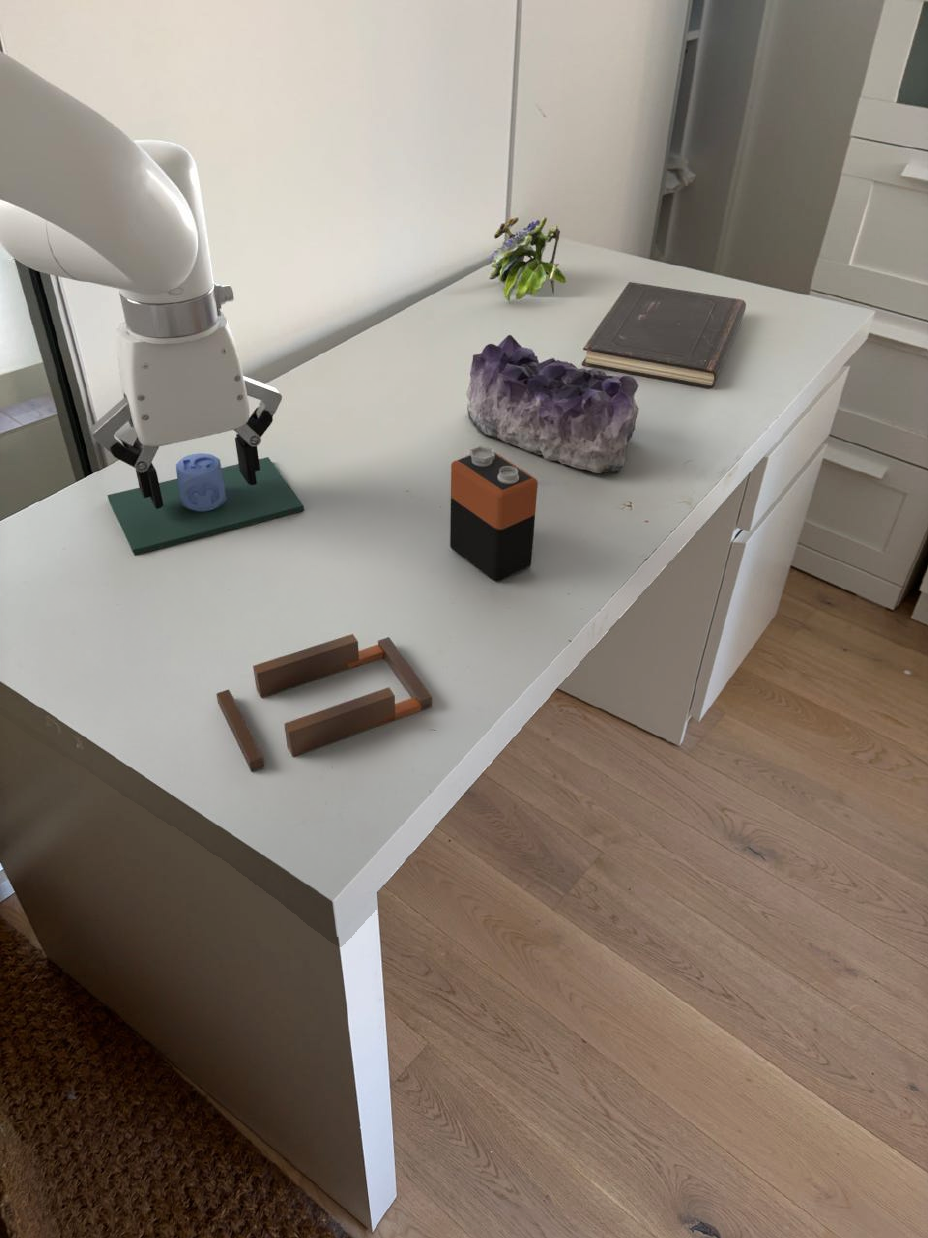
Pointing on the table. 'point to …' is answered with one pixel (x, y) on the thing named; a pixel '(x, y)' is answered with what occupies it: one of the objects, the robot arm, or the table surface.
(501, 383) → the geode
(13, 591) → the table surface
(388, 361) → the table surface
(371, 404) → the table surface
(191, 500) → the decorative dice
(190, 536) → the mat
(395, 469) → the table surface
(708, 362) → the hardcover book
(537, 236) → the passion flower
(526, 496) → the battery
